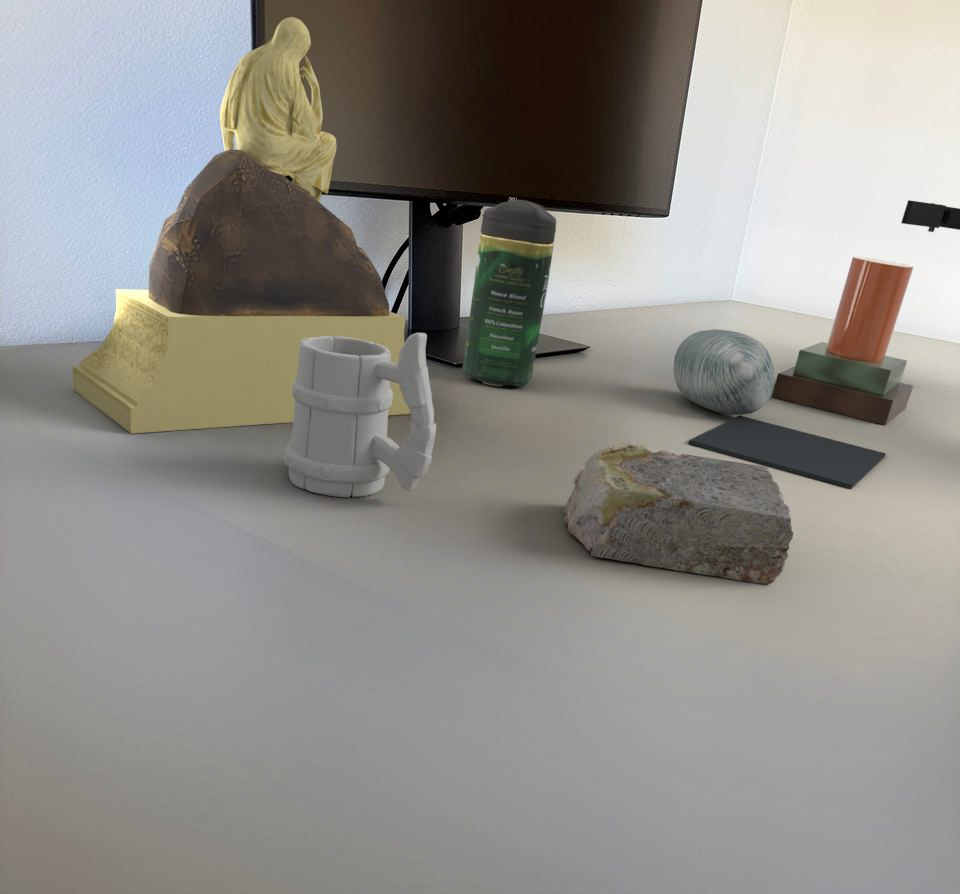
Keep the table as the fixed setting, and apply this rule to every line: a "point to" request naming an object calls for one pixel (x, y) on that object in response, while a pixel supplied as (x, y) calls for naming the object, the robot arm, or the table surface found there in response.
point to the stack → (845, 385)
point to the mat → (791, 450)
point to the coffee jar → (509, 293)
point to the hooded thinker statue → (244, 270)
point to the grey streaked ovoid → (724, 371)
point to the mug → (358, 416)
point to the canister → (868, 309)
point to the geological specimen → (681, 513)
